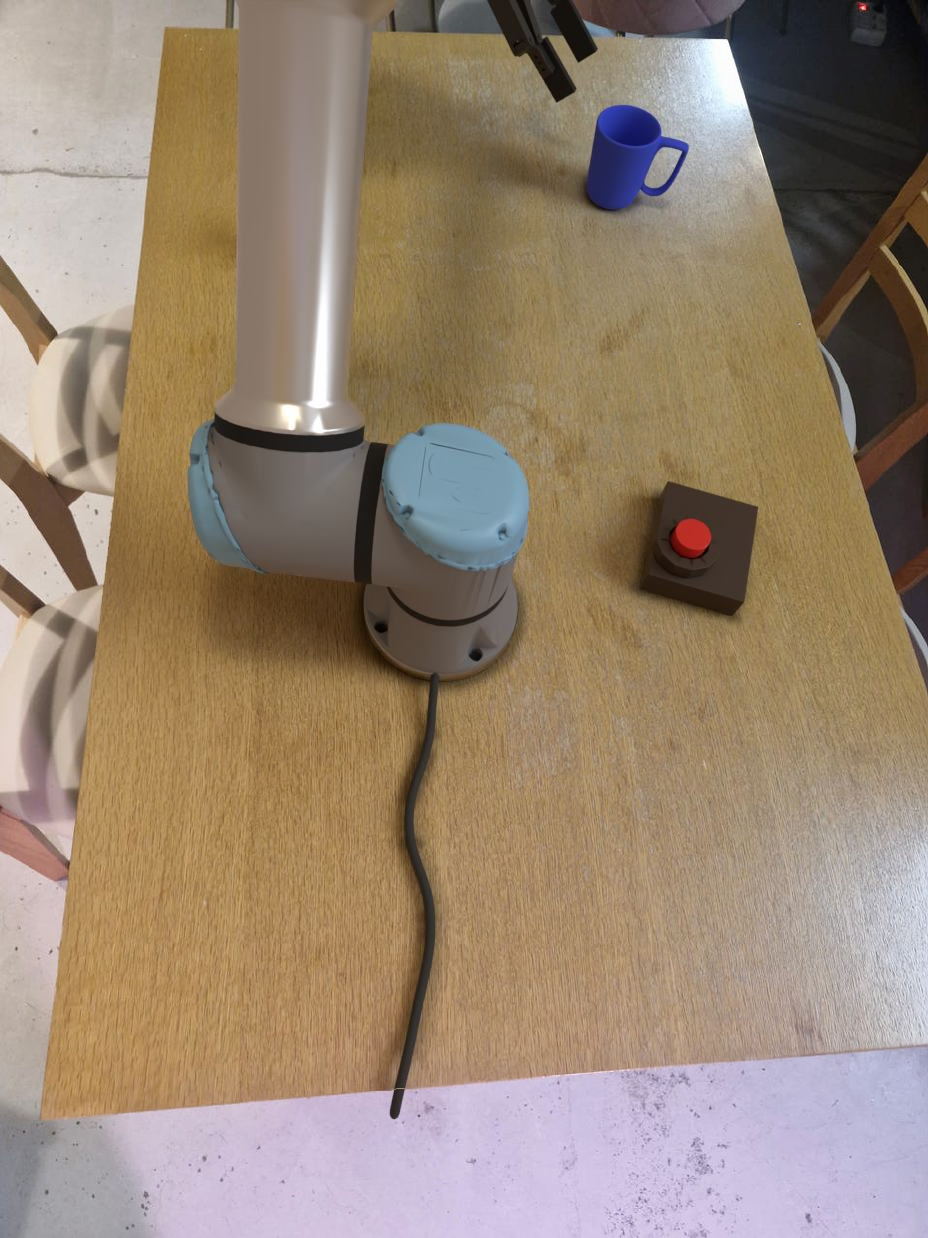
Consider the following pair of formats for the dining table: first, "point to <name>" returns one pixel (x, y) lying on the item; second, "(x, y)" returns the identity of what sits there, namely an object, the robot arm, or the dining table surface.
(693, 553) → the power button
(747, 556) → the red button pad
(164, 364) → the dining table surface
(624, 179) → the mug
